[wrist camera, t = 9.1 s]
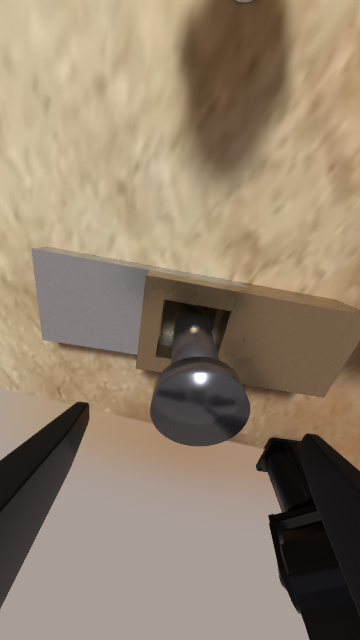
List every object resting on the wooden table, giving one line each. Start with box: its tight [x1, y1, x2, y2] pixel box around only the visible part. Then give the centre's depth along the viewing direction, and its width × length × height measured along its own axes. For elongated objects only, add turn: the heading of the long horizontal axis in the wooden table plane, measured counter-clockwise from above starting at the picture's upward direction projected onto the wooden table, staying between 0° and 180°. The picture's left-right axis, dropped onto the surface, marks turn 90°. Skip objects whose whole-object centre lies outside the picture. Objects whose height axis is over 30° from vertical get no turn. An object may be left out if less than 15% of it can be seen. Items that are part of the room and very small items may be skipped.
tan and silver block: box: [32, 247, 360, 397], centre depth 17 cm, size 8×26×4 cm, turn 80°
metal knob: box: [150, 303, 250, 446], centre depth 14 cm, size 4×4×11 cm
